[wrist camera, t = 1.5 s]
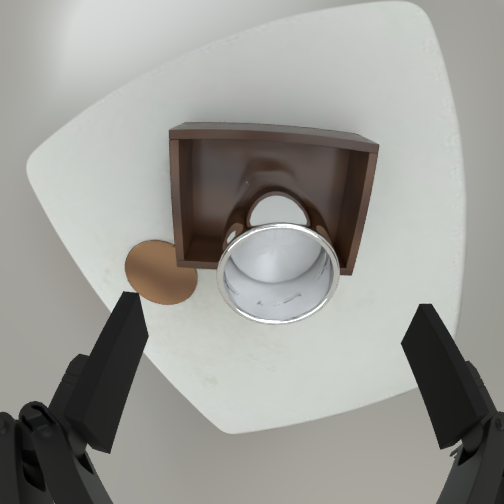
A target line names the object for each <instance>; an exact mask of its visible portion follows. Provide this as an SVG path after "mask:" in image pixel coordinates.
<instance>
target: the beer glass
mask: <svg viewBox="0 0 504 504" xmlns="http://www.w3.org/2000/svg"><path fill="white" fill-rule="evenodd" d="M339 276H340V268H339V262H338V258H337V256H336V253H335V250H334V246H333V242H332V239H331V235H330V232H329V230H328V227H327V225H326V222H325V220H324V218H323V216H322V214H321V212H320V211H319V209H318V207H317V206H316V204H315V203H314V202H313V201H312V200H311V199H310V198H309V196H308V195H307V194H306V193H304V192H303V191H302V190H301V184H300V181H299V178H298V176H297V174H296V172H295V171H294V170H293V169H292V168H291V167H290V166H289V165H287V164H286V163H284V162H281V161H278V160H274V159H265V160H260V161H257V162H255V163H253V164H251V165H250V166H249V167H247V168H246V169H245V171H244V172H243V173H242V175H241V177H240V179H239V183H238V198H237V199H236V200H235V201H234V203H233V205H232V206H231V208H230V210H229V212H228V214H227V216H226V219H225V222H224V225H223V229H222V233H221V239H220V246H219V261H218V269H217V283H218V288H219V291H220V293H221V295H222V297H223V299H224V300H225V302H226V303H227V304H228V305H229V306H230V307H231V308H232V309H233V310H234V311H235V312H236V313H238V314H239V315H241V316H243V317H244V318H246V319H249V320H251V321H254V322H257V323H262V324H268V325H283V324H290V323H294V322H298V321H301V320H304V319H306V318H308V317H310V316H312V315H313V314H315V313H317V312H318V311H319V310H320V309H322V308H323V307H324V306H325V305H326V304H327V303H328V302H329V300H330V299H331V298H332V296H333V294H334V293H335V290H336V288H337V285H338V282H339Z"/></svg>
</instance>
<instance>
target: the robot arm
mask: <svg viewBox="0 0 504 504" xmlns="http://www.w3.org/2000/svg"><path fill="white" fill-rule="evenodd" d="M148 337H149V335H148V331H147V327H146V323H145V319H144V314H143V310H142V306H141V301H140V297H139V293H134V292H124V291H123V293H122V295H121V297H120V299H119V300H118V302H117V304H116V306H115V308H114V309H113V311H112V313H111V315H110V317H109V319H108V321H107V322H106V324H105V326H104V328H103V330H102V332H101V334H100V336H99V338H98V340H97V342H96V344H95V346H94V348H93V350H92V352H91V354H90V356H87V355H83V354H79V355H77V356H76V357H75V358H74V359H73V360H72V361H71V362H70V364H69V366H68V368H67V370H66V373H65V374H64V376H63V378H62V381H61V382H60V384H59V386H58V388H57V390H56V392H55V394H54V396H53V399H52V401H51V403H50V405H49V407H48V408H47V407H46V406H45V405H44V404H43V403H41V402H37V401H33V402H29V403H27V404H26V405H24V406H23V408H22V409H21V410H20V413H19V420H15V419H14V418H13V417H12V416H11V415H9V414H8V413H6V412H0V504H54V503H55V504H113V502H112V501H111V499H110V497H109V495H108V493H107V492H106V490H105V488H104V486H103V484H102V482H101V480H100V478H99V476H98V475H97V472H96V470H95V468H94V466H93V464H92V462H91V460H90V458H89V456H88V453H87V452H86V450H85V449H86V445H87V443H88V444H89V445H90V446H91V447H92V449H95V450H98V451H102V452H105V453H109V454H110V452H111V448H112V445H113V442H114V438H115V435H116V431H117V428H118V425H119V422H120V418H121V415H122V412H123V409H124V406H125V403H126V400H127V397H128V393H129V391H130V388H131V384H132V382H133V379H134V376H135V373H136V370H137V367H138V364H139V362H140V358H141V356H142V353H143V350H144V348H145V345H146V342H147V339H148ZM401 345H402V348H403V350H404V352H405V355H406V357H407V359H408V362H409V364H410V367H411V369H412V372H413V374H414V377H415V379H416V382H417V384H418V387H419V389H420V392H421V394H422V397H423V400H424V403H425V405H426V408H427V411H428V414H429V417H430V419H431V422H432V425H433V428H434V431H435V434H436V437H437V441H438V444H439V447H440V449H444V448H447V447H450V446H453V445H455V444H456V443H457V442H458V441H459V440H460V439H461V440H462V444H461V445H460V446H459V447H458V448H456V449H455V450H454V451H453V452H451V454H450V456H453V455H454V454H455V453H456V452H457V455H456V456H455V457H454V458H455V460H454V463H453V466H452V468H451V471H450V473H449V476H448V478H447V481H446V483H445V485H444V488H443V490H442V492H441V494H440V497H439V499H438V501H437V503H436V504H504V412H498V411H497V410H496V408H495V406H494V403H493V401H492V399H491V397H490V395H489V393H488V391H487V389H486V387H485V386H484V383H483V381H482V379H480V375H479V373H478V371H477V369H476V368H475V367H474V366H473V365H472V364H471V363H470V362H469V361H465V360H464V358H463V357H462V355H461V353H460V351H459V349H458V347H457V346H456V344H455V342H454V340H453V339H452V337H451V335H450V333H449V332H448V330H447V328H446V327H445V325H444V323H443V322H442V320H441V318H440V317H439V315H438V313H437V312H436V310H435V309H434V307H433V305H432V304H419V306H418V309H417V311H416V313H415V315H414V317H413V319H412V322H411V324H410V326H409V328H408V330H407V332H406V334H405V336H404V338H403V340H402V342H401ZM53 501H54V502H53Z"/></svg>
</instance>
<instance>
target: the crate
mask: <svg viewBox="0 0 504 504" xmlns="http://www.w3.org/2000/svg"><path fill="white" fill-rule="evenodd" d="M169 139H170V140H169V154H170V180H171V199H172V215H173V229H174V241H175V252H176V263H177V267H182V268H199V269H216V270H217V269H218V261H219V246H220V239H221V233H222V229H223V225H224V222H225V219H226V216H227V214H228V212H229V210H230V208H231V206H232V205H233V203H234V201H235V200H236V199H237V198H238V183H239V179H240V177H241V175H242V173H243V172H244V171H245V169H246V168H247V167H249V166H250V165H251V164H253V163H255V162H257V161H260V160H265V159H274V160H278V161H281V162H284V163H286V164H287V165H289V166H290V167H291V168H292V169H293V170H294V171H295V172H296V174H297V176H298V178H299V181H300V184H301V190H302V191H303V192H304V193H306V194H307V195H308V196H309V198H310V199H311V200H312V201H313V202H314V203H315V204H316V206H317V207H318V209H319V211H320V212H321V214H322V216H323V218H324V220H325V222H326V225H327V227H328V230H329V232H330V235H331V239H332V242H333V246H334V250H335V253H336V256H337V258H338V262H339V268H340V275H350V276H351V275H352V273H353V269H354V265H355V262H356V258H357V254H358V250H359V246H360V241H361V237H362V233H363V229H364V224H365V220H366V215H367V210H368V206H369V201H370V196H371V191H372V185H373V180H374V174H375V169H376V163H377V157H378V150H379V144H377V143H375V142H373V141H371V140H369V139H367V138H365V137H363V136H361V135H359V134H352V133H346V132H339V131H331V130H324V129H315V128H306V127H296V126H285V125H271V124H254V123H227V122H185V123H183V124H181V125H178V126H176V127H174V128H172V129H170V130H169Z"/></svg>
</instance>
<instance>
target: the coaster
mask: <svg viewBox="0 0 504 504" xmlns="http://www.w3.org/2000/svg"><path fill="white" fill-rule="evenodd" d="M125 272H126V276H127V279H128V281H129V283H130V285H131V286H132V287H133V289H134V290H135V291H136V292H137V293H139V294H140V295H141V296H142V297H144V298H146V299H147V300H149V301H152V302H155V303H158V304H164V305H171V304H177V303H180V302H183V301H185V300H186V299H188V298H189V297H190V296H191V295H192V293H193V292H194V290H195V287H196V284H197V272H196V268H182V267H177V263H176V252H175V246H174V245H172V244H170V243H167V242H163V241H157V240H153V241H146V242H142V243H140V244H138V245H137V246H135V247H134V248H133V249H132V250H131V251H130V253H129V254H128V256H127V258H126V262H125Z"/></svg>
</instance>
